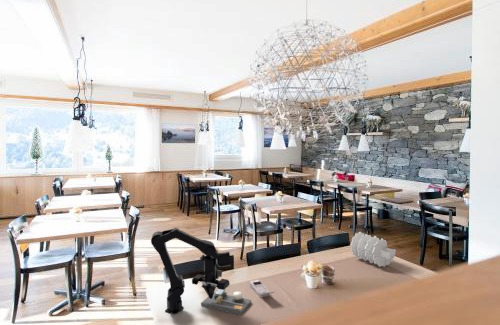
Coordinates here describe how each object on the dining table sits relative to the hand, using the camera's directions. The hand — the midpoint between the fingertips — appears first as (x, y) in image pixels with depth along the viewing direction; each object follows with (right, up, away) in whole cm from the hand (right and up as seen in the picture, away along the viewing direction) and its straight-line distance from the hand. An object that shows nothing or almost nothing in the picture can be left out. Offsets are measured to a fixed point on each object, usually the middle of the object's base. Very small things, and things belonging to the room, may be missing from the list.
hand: (211, 298), depth 153 cm
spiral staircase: (+100, +2, +50) cm, 112 cm away
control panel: (+8, -3, 0) cm, 8 cm away
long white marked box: (+25, -2, +11) cm, 28 cm away
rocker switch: (+4, +1, +4) cm, 6 cm away
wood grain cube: (+5, -2, -2) cm, 5 cm away
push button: (+13, 0, 0) cm, 13 cm away
